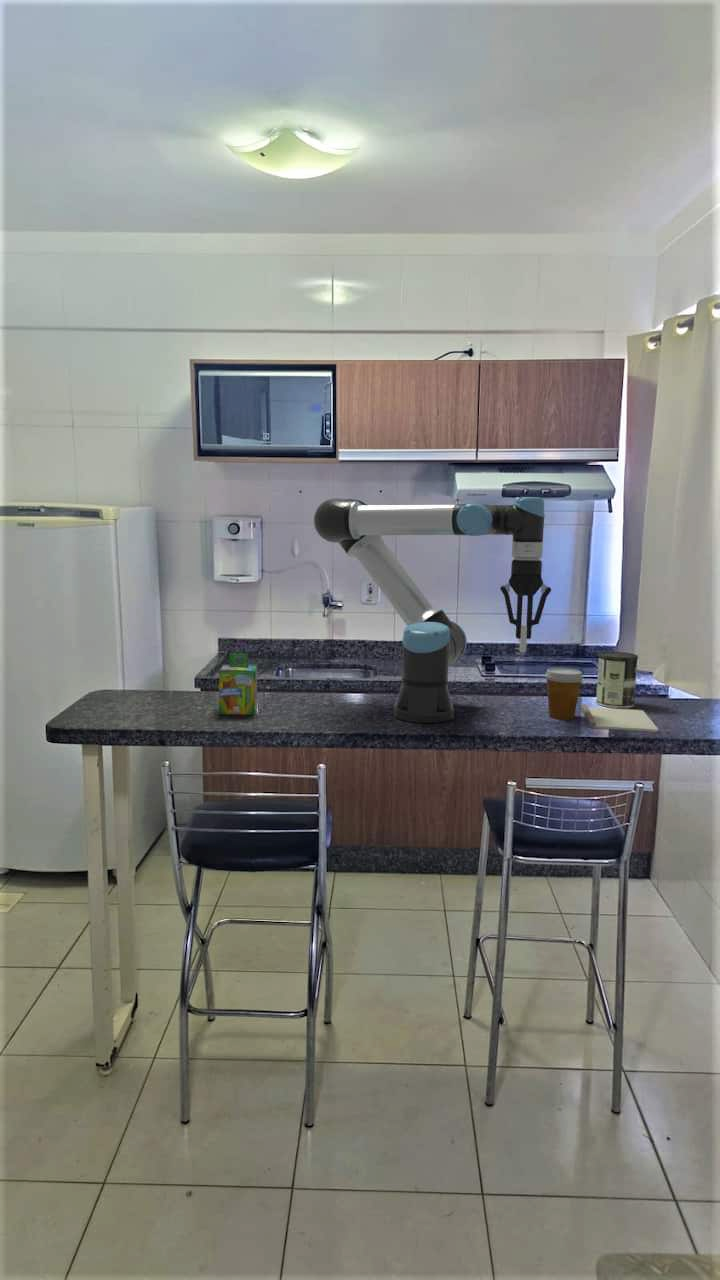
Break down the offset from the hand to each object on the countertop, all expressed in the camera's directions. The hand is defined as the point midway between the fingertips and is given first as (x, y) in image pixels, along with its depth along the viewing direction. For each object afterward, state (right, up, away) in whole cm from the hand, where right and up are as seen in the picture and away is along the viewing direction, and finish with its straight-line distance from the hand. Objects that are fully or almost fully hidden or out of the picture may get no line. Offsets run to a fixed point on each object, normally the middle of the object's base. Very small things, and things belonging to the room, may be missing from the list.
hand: (522, 651), depth 205 cm
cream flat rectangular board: (+24, -18, -1) cm, 30 cm away
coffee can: (+29, -15, +16) cm, 36 cm away
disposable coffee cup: (+10, -17, +1) cm, 20 cm away
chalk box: (-73, -16, 0) cm, 75 cm away
